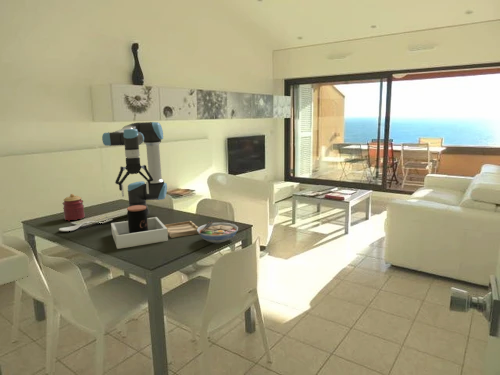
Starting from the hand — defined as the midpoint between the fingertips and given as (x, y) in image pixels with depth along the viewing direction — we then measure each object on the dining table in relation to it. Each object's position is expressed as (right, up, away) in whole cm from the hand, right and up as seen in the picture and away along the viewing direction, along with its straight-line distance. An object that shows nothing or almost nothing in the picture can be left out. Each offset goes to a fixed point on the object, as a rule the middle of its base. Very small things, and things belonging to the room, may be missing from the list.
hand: (135, 194), depth 205 cm
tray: (+23, -22, +16) cm, 36 cm away
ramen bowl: (+47, -26, -3) cm, 54 cm away
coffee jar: (0, -25, +5) cm, 26 cm away
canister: (-57, -18, +47) cm, 76 cm away
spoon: (-40, -22, +27) cm, 53 cm away
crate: (0, -25, +5) cm, 25 cm away
